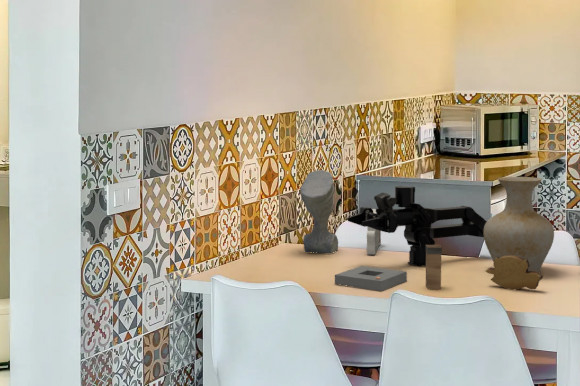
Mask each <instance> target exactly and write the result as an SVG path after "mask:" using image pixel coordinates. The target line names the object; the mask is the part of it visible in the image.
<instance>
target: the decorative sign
mask: <svg viewBox="0 0 580 386" xmlns="http://www.w3.org/2000/svg"><path fill="white" fill-rule="evenodd" d="M371 209H372V210H373V213H376V209H377V208H371ZM376 214H377V213H376ZM381 236H382V231H379V230H377V229H373V228H370V227H367V231H366V255H368V256H375V255H376V254H377V251H378V249H379V246H381V245H382V241H381V240H382V239H381V238H382V237H381Z"/></svg>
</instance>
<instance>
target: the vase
mask: <svg viewBox="0 0 580 386" xmlns="http://www.w3.org/2000/svg"><path fill="white" fill-rule="evenodd" d="M497 181H498V182H499V183H500V185H501V186H503V187H504V188H505V191H506V192H505V193H506V201H505V202H506V203H505V206H504V209H503V210H502V211H500V212H499V213H496V214H494V215H493V216H492V217H490V218H489V219H488V220H486V221H487V222H486V224H485V226H484V232H483V234H484V237H483V240H484V243H485V246H486V248H487V249H486V250H488V252H489V253H488V254H489V255H490V258H491V259H492V261H493V262H492V263H494V260H495V258H497V257H503V256H507V255H514V256H518V257H521V258H522V259H524V260H525V259H528V262H529V264H530V266H529V268H528V271H537V272H539V273H540V274H541V269H542V265H543V263H544V261H545V260H546V258H547V256H548V254H549V252H550V251H551V248H552V245H553V243H554V239H555V228H554V226H553V224H552V223H551V222H550V220H548V219H547V218H546V217H544V216H543V215H542V214H541V213H540V214H539V213H537V212H536V211H535V208H534V206H533V192H534V190H535V188H536V187H537V186H539V185H540V183H541V182H542V181H543V179H542V178H539V177H531V176H504V177H498V178H497Z"/></svg>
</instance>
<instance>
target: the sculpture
mask: <svg viewBox="0 0 580 386" xmlns="http://www.w3.org/2000/svg"><path fill="white" fill-rule="evenodd" d="M333 179H334V178H333V174H332V173H331V172H330V171H326V170H324V169H316V170H313V171H312V172H311V171H310V172H309V173H307V175H306V178H305V179H304V181H303V183H302V185H301V186H300V193H301V195H300V198H301V200H302V202H303V204H304V206H305V209H306V211H308V212H309V213H310V215H311V217H312V218H313V227H312V229H311V232H310V233H309V232H308V233H306V234H304V235H303V239H302V240H303V250H304V251H305V252H304V253H306V252H312V253H311V254H321V253H333V252H335V251H336V250H337V249H338V248H339V239H338V236H337V235H336V234H334V233H332V232H330V231H329V228H328V227H329V225H328V223H329V218H330V216H331V215H332V213H333V211H334V208H335V207H334V206H335V205H334V199H335V196H334V194H335V190H336V189H335V185H334V180H333ZM338 250H339V249H338ZM338 250H337V251H338ZM337 251H336V252H337ZM313 252H314V253H313ZM316 252H317V253H316ZM336 252H335V253H336ZM333 254H334V253H333Z"/></svg>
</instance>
